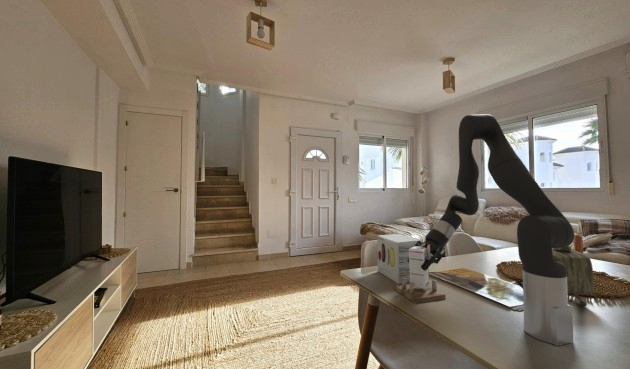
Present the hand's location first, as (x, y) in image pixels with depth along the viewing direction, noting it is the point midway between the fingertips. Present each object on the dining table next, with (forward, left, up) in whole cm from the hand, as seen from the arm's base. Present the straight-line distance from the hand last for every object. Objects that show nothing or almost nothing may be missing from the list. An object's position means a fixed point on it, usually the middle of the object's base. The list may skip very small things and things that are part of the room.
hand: (415, 265), depth 98 cm
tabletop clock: (-18, -48, -11) cm, 53 cm away
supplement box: (+20, -5, -11) cm, 23 cm away
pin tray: (0, -1, -11) cm, 11 cm away
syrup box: (0, -2, -8) cm, 8 cm away
